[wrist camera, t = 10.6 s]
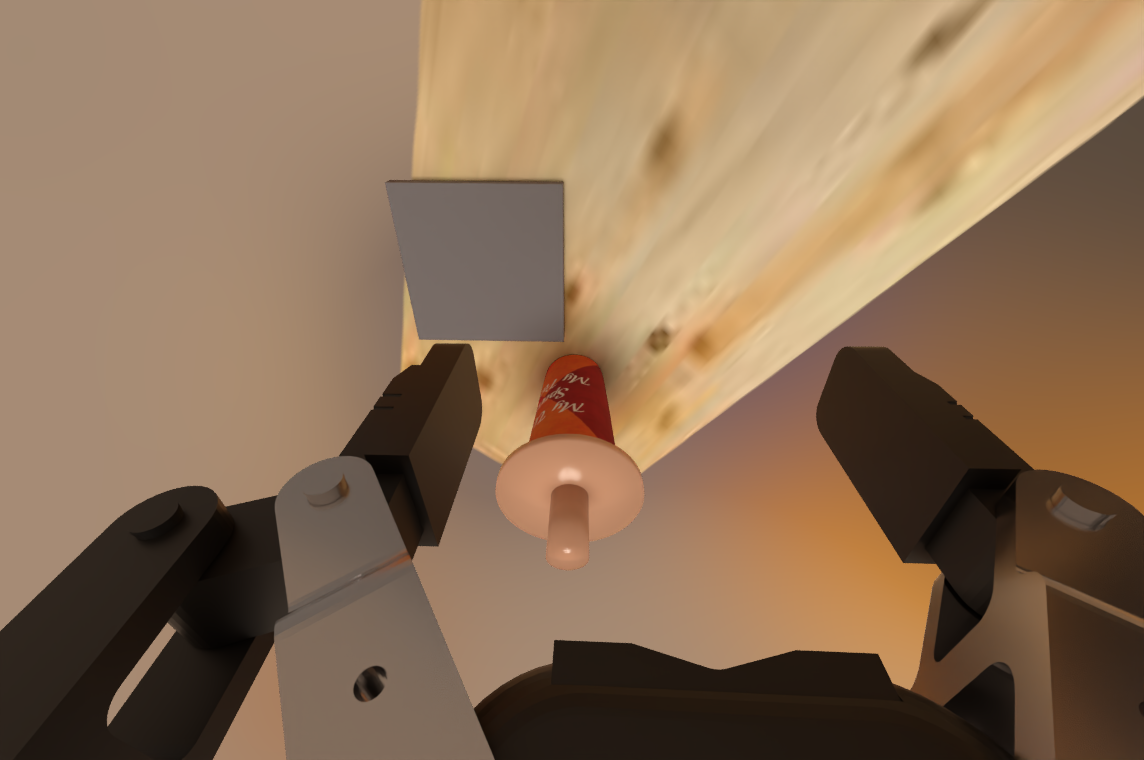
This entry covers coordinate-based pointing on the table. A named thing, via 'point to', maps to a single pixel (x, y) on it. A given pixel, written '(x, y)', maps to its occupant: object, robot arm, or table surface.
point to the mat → (482, 258)
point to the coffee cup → (573, 401)
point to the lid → (569, 493)
